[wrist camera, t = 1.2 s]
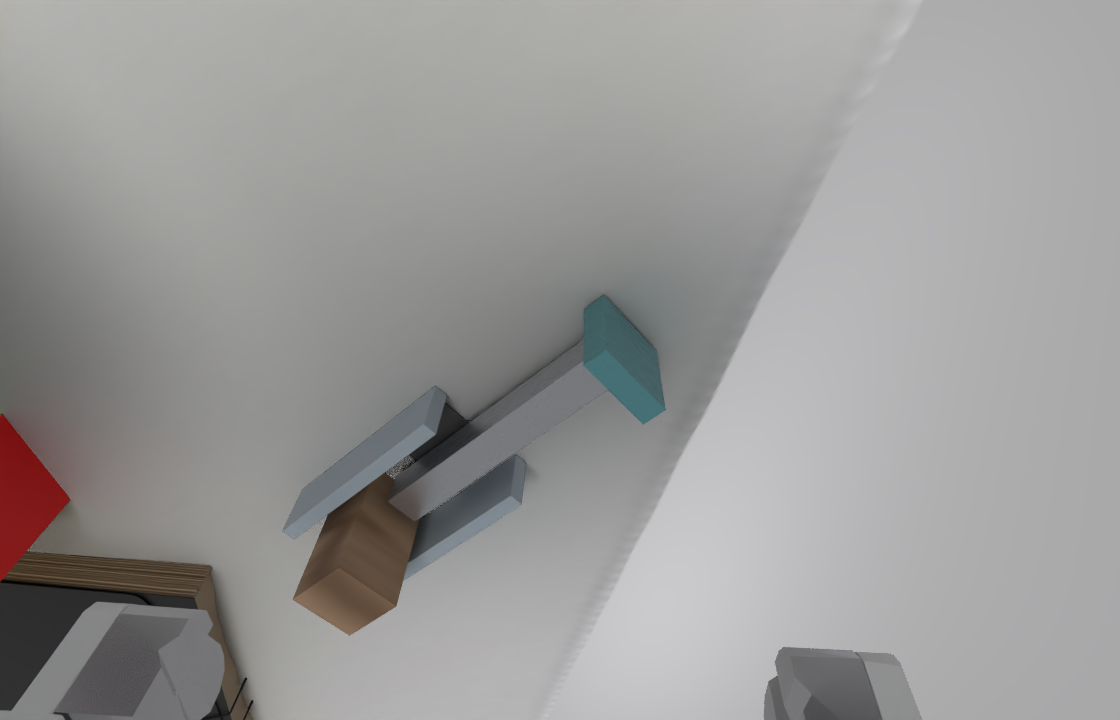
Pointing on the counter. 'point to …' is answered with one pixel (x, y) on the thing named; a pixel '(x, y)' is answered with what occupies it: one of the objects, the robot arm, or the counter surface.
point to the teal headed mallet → (539, 408)
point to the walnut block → (358, 559)
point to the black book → (76, 584)
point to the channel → (416, 437)
